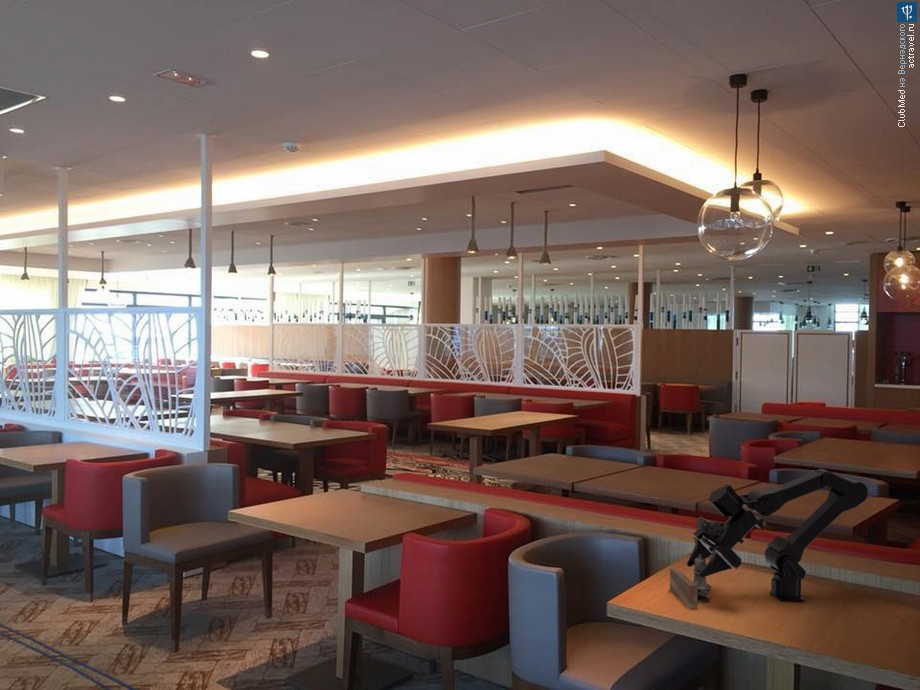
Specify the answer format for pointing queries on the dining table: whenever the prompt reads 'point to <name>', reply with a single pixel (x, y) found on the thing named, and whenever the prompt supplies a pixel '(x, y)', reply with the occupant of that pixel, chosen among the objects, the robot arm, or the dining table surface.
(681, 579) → the walnut board
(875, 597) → the dining table surface
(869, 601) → the dining table surface
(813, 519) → the robot arm
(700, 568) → the salt shaker
